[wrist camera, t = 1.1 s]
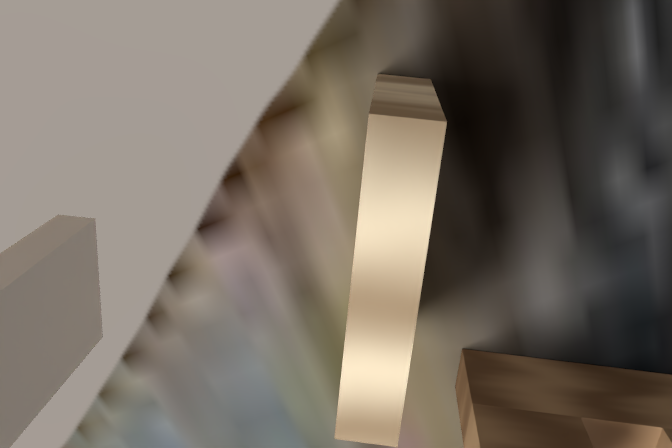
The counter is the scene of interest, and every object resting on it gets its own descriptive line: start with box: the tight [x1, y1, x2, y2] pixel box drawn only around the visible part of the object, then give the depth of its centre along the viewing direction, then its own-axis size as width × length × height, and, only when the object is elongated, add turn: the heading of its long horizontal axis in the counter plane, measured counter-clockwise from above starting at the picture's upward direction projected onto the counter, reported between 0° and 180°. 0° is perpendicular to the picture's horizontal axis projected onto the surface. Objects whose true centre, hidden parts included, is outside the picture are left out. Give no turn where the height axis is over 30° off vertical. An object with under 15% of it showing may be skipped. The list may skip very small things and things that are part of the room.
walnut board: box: [455, 349, 672, 448], centre depth 29 cm, size 14×2×10 cm, turn 85°
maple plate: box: [335, 74, 447, 447], centre depth 27 cm, size 13×2×10 cm, turn 175°
